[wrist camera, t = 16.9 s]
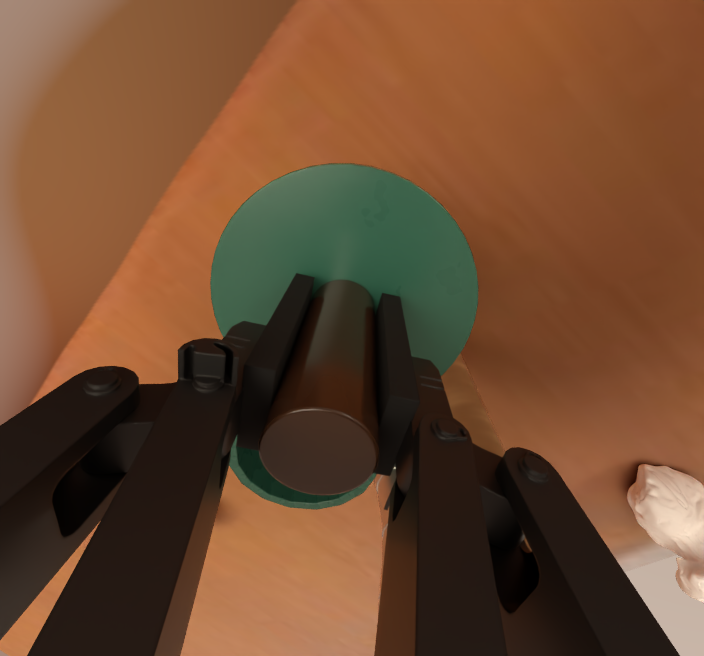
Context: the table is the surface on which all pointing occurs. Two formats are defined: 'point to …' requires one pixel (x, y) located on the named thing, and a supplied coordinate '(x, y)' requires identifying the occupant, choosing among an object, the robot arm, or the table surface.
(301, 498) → the pot
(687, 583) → the bust
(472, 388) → the stick
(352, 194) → the lid
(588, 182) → the table surface
